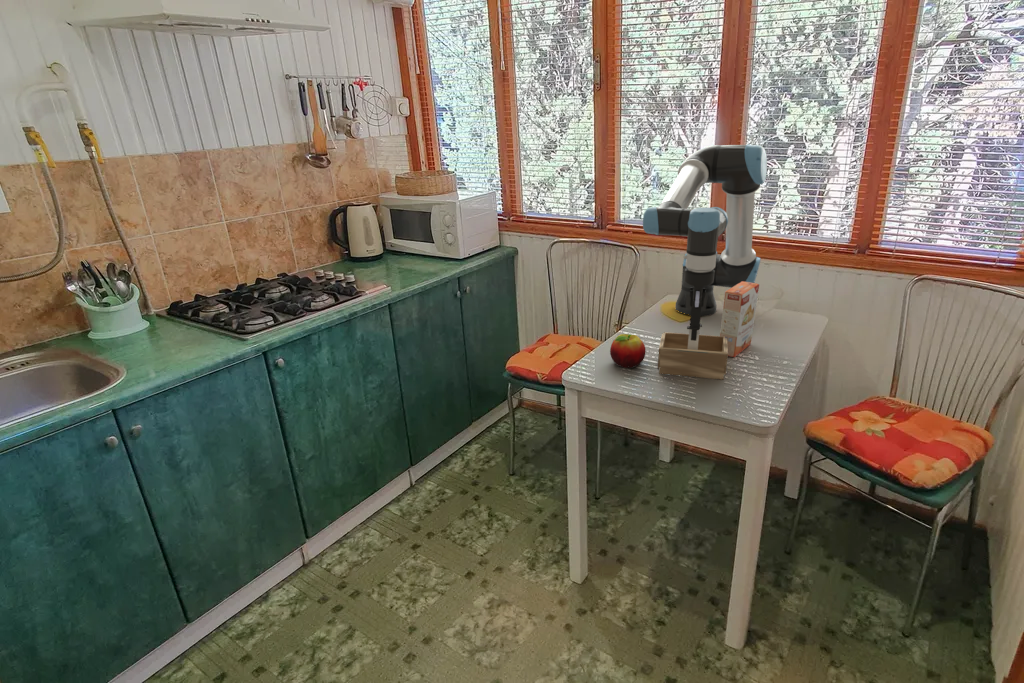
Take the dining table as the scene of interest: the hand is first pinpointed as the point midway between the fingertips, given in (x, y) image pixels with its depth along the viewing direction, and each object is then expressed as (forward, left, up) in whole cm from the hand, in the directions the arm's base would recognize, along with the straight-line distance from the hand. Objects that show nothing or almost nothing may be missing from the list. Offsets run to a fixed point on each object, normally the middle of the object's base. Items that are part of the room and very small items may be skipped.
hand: (692, 349), depth 159 cm
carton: (-10, 0, -10) cm, 14 cm away
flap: (+1, 0, 0) cm, 1 cm away
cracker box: (-27, +13, -10) cm, 32 cm away
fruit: (-8, -19, -10) cm, 23 cm away
